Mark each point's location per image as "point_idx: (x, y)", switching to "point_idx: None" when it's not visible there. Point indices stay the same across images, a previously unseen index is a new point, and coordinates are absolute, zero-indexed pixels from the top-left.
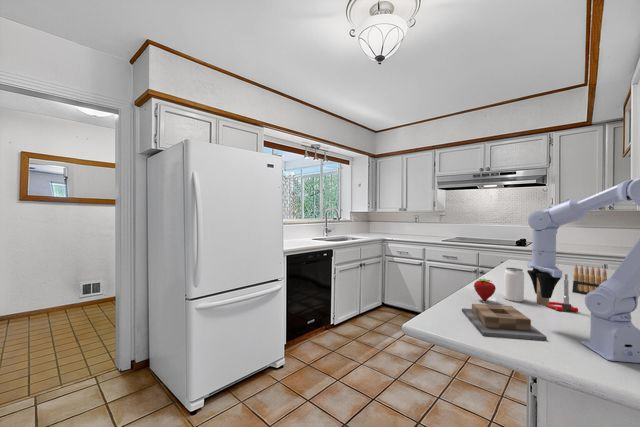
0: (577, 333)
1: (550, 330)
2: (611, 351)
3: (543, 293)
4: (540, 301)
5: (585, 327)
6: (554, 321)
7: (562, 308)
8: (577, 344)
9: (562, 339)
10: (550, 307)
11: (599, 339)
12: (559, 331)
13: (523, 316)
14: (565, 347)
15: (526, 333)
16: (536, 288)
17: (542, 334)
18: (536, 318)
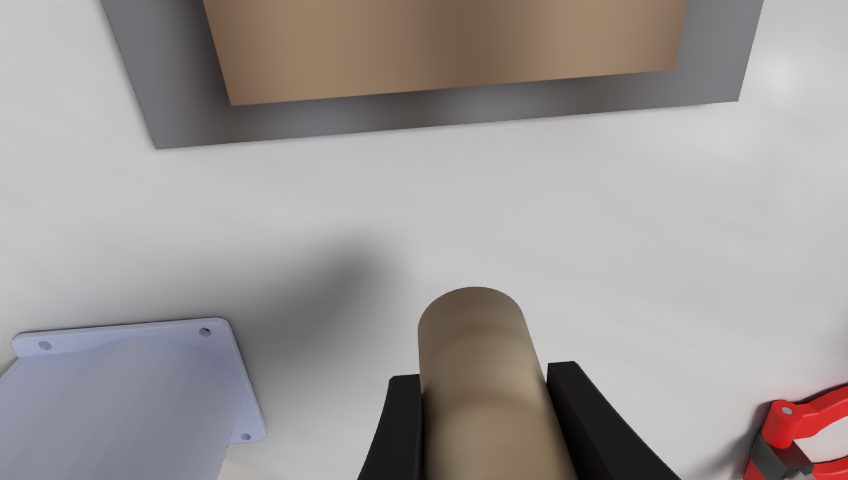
0: (390, 356)
1: (394, 239)
2: (4, 382)
3: (380, 425)
4: (437, 326)
5: None
6: (577, 322)
7: (770, 437)
8: (197, 291)
9: (246, 246)
10: (828, 393)
11: (66, 396)
12: (393, 282)
13: (313, 67)
14: (100, 210)
15: (147, 7)
16: (576, 427)
17: (194, 137)
18: (627, 241)
